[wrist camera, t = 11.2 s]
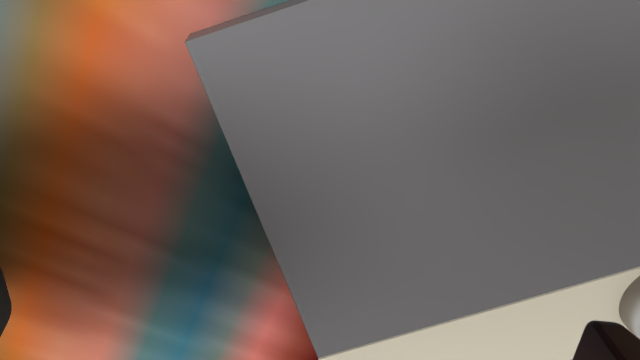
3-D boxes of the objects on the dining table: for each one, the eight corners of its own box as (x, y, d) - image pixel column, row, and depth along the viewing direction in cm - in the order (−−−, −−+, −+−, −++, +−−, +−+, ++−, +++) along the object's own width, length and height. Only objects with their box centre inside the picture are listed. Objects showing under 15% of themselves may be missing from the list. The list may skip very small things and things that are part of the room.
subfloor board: (353, 426, 27) (356, 449, 26) (190, 33, 19) (184, 42, 17) (701, 331, 26) (721, 351, 25) (704, -139, 17) (735, -142, 16)
